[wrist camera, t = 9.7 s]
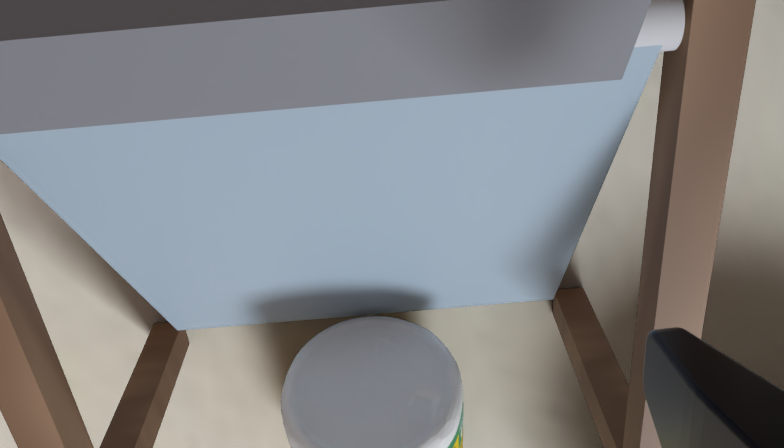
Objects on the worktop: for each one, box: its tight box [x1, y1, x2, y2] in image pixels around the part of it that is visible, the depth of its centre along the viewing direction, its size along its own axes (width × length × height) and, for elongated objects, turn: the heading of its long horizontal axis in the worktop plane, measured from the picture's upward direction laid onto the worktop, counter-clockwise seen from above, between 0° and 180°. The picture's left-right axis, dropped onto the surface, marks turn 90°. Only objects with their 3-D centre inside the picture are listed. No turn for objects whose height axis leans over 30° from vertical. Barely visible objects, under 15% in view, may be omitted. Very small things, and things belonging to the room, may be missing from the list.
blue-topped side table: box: [0, 0, 756, 448], centre depth 18 cm, size 15×15×8 cm
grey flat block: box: [0, 0, 685, 331], centre depth 16 cm, size 13×14×3 cm
